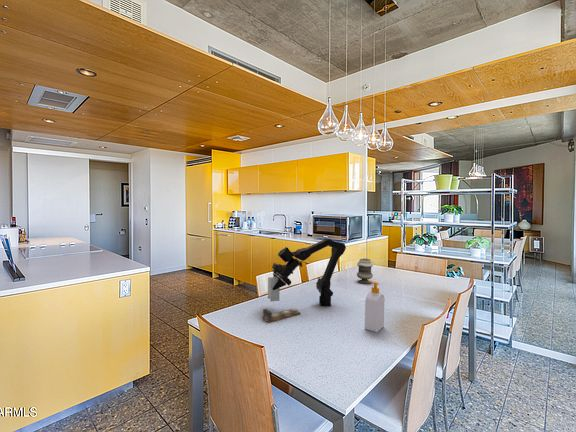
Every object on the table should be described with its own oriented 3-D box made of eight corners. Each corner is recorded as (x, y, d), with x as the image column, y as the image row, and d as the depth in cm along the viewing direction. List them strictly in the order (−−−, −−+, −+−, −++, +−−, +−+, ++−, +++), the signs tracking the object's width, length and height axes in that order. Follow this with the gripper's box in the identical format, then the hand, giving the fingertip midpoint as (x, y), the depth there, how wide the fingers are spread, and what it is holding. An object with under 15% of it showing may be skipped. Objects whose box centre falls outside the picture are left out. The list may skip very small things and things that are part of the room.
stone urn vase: (356, 283, 219) (356, 260, 218) (357, 279, 230) (357, 257, 230) (372, 285, 215) (373, 261, 215) (372, 281, 227) (373, 258, 226)
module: (276, 297, 166) (276, 276, 165) (279, 300, 160) (279, 279, 159) (267, 298, 164) (268, 277, 163) (270, 301, 158) (270, 280, 158)
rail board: (292, 310, 164) (293, 301, 163) (300, 314, 158) (300, 305, 158) (262, 318, 152) (262, 308, 152) (269, 322, 146) (269, 313, 146)
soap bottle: (370, 322, 148) (371, 278, 147) (383, 326, 143) (385, 281, 142) (362, 328, 141) (364, 282, 140) (376, 333, 136) (378, 285, 135)
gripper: (275, 255, 171) (257, 274, 168) (286, 261, 153) (265, 283, 150) (288, 267, 174) (270, 286, 171) (299, 274, 156) (280, 296, 153)
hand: (271, 288), depth 161 cm, fingers closed on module, 6 cm apart
